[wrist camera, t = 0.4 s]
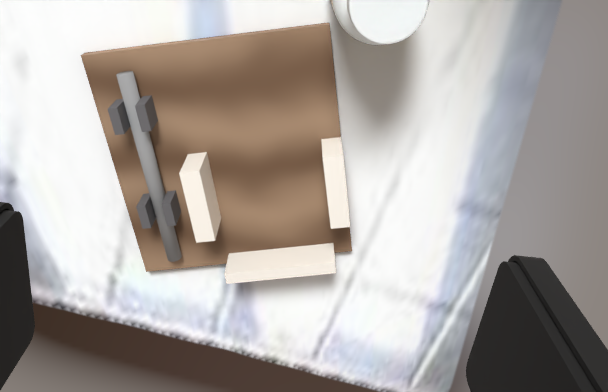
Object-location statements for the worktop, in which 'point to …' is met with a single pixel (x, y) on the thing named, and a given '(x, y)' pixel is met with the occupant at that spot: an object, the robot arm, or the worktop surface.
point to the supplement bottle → (380, 19)
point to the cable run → (147, 161)
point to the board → (231, 136)
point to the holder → (272, 260)
